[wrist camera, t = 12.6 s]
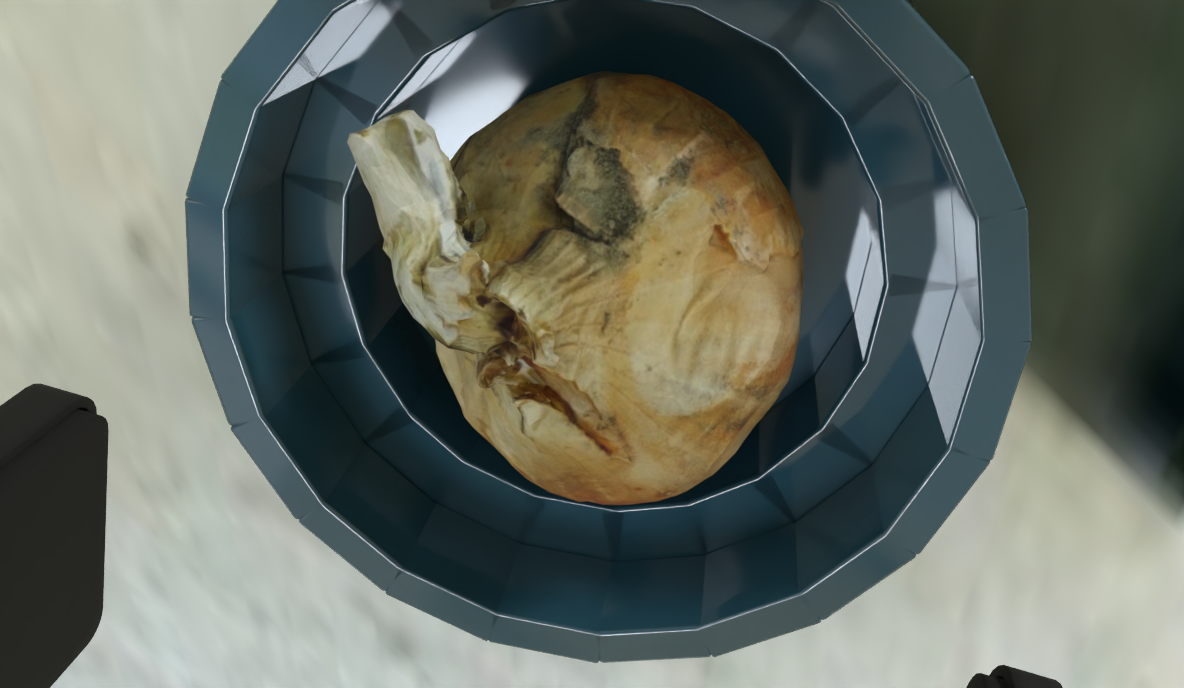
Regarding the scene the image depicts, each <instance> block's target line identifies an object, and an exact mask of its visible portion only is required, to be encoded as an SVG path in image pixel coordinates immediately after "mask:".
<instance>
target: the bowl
mask: <svg viewBox="0 0 1184 688" xmlns="http://www.w3.org/2000/svg"><path fill="white" fill-rule="evenodd" d="M601 71H611V72H619V73H628V74H644V75H652V76H656V77H659V78H661V79H664V80H668V81H670V82H673V83H676V84H678V85H679V86H681V87H683V88H685V89H687V90H689V91H691V92H693V93H695V94H697V95H699V96H701V97H703V98H705V99H706V100H708V101H709V102H711V103H712V104H714V105H715V106H717V107H718V108H719V109H721V110H723V111H724V112H726V113H728V114H729V115H730V116H731V117H732V118H733V119H734V120H735V121H736V122H737V123H739V124H740V125H741V126H742V127H743V128H744V129H745V130H746V131H747V132H748V133H749V134H750V135H751V136H752V137H753V138H754V139H755V140H756V141H757V142H758V143H759V144H760V146H761V147H762V149H763V151H764V152H765V154H766V156H767V158H768V160H769V161H770V163H771V165H772V167H773V168H774V170H775V171H776V173H777V175H778V176H779V178H780V180H781V181H782V183H783V184H784V185H785V187H786V189H787V191H788V193H789V195H790V197H791V199H792V201H793V203H794V205H795V208H796V211H797V214H798V217H799V220H800V222H801V225H802V227H803V230H804V234H803V237H802V241H801V244H802V252H803V296H802V305H801V317H800V331H799V339H798V346H797V351H796V356H795V360H794V364H793V367H792V371H791V374H790V378H789V381H788V382H787V384H786V385H785V387H784V388H783V389H782V391H781V392H780V394H779V396H778V398H777V400H776V401H775V402H774V403H773V405H772V406H771V407H770V409H769V410H768V411H767V412H766V414H765V415H764V416H763V418H762V419H761V420H760V421H759V422H758V423H757V424H756V425H755V427H754V428H753V429H752V431H751V432H750V433H749V435H748V436H747V437H746V439H745V440H744V442H743V443H742V444H741V446H740V447H739V449H738V450H737V452H736V453H735V454H734V455H733V456H732V457H731V458H730V459H729V460H728V461H727V462H726V463H725V464H724V465H723V466H722V467H721V468H720V469H719V470H718V471H717V472H715V473H714V474H713V475H712V476H710V477H708V478H707V479H705V480H703V481H702V482H700V483H699V484H697V485H696V486H694V487H693V488H691V489H689V490H688V491H686V492H684V493H681V494H679V495H677V496H673V497H669V498H666V499H663V500H660V501H656V502H647V503H638V504H631V505H602V504H598V503H593V502H589V501H585V502H578V501H575V500H572V499H569V498H566V497H562V496H559V495H556V494H553V493H550V492H548V491H547V490H545V489H543V488H541V487H540V486H538V485H536V484H534V483H532V482H531V481H529V480H527V479H526V478H525V477H524V476H523V475H522V474H520V473H519V472H518V471H517V470H516V469H515V468H514V467H513V466H512V465H511V464H510V463H509V462H508V460H507V459H506V458H505V457H504V456H503V455H502V454H501V453H500V452H499V451H498V450H497V449H496V448H495V447H494V446H493V445H492V444H491V443H489V442H488V441H487V440H486V439H485V438H484V437H483V436H482V435H481V434H480V433H479V432H478V431H476V430H475V429H474V428H473V427H472V425H471V424H470V423H469V422H468V421H467V420H466V418H465V417H464V415H463V412H462V409H461V406H460V404H459V402H458V400H457V397H456V395H455V393H454V391H453V389H452V387H451V385H450V383H449V381H448V379H447V377H446V375H445V373H444V371H443V368H442V366H441V363H440V360H439V357H438V355H437V352H436V342H435V339H434V338H433V336H432V335H431V334H430V333H429V332H428V331H427V330H426V329H425V328H424V327H423V326H422V325H421V324H420V323H419V322H418V321H417V320H415V319H414V318H413V316H412V315H411V313H410V312H409V311H408V309H407V308H406V306H405V305H404V303H403V302H402V300H401V297H400V294H399V292H398V289H397V286H396V284H395V281H394V276H393V269H392V263H391V259H390V258H389V256H388V255H387V254H386V252H385V251H384V250H383V244H384V237H383V235H382V232H381V230H380V227H379V223H378V219H377V216H376V212H375V208H374V204H373V200H372V197H371V195H370V193H369V191H368V189H367V187H366V185H365V184H364V181H363V179H362V177H361V174H360V172H359V169H358V167H357V164H356V162H355V159H354V157H353V154H352V152H351V150H350V147H349V145H348V143H347V141H348V138H349V134H351V133H354V132H357V131H360V130H363V129H366V128H368V127H370V126H371V125H373V124H375V123H377V122H378V121H380V120H382V119H383V118H385V117H387V116H389V115H392V114H395V113H397V112H400V111H403V110H414V111H415V112H416V113H417V114H418V115H419V117H420V118H422V119H423V120H424V121H425V122H426V123H428V124H429V125H430V126H431V127H432V128H434V131H435V134H436V137H437V139H438V142H439V145H440V148H441V150H442V151H443V152H444V153H445V154H446V155H447V156H448V158H449V160H451V159H452V158H453V156H454V155H455V153H456V152H457V151H458V149H459V148H460V147H461V146H462V145H463V144H464V142H465V141H466V140H467V139H468V138H469V137H470V136H471V135H472V134H474V133H476V132H477V131H479V130H480V129H482V128H483V127H485V126H486V125H488V124H489V123H491V122H492V121H493V120H495V119H496V118H497V117H499V116H500V115H501V114H502V113H504V112H505V111H507V110H508V109H510V108H511V107H513V106H514V105H516V104H517V103H519V102H520V101H522V100H523V99H525V98H526V97H528V96H529V95H531V94H534V93H537V92H540V91H543V90H546V89H549V88H551V87H554V86H556V85H559V84H561V83H564V82H567V81H570V80H573V79H576V78H579V77H583V76H586V75H589V74H592V73H596V72H601ZM221 78H222V80H221V81H220V82H219V86H218V89H217V92H216V96H215V99H214V102H213V106H212V109H211V112H210V116H209V119H208V122H207V126H206V129H205V132H204V136H203V139H202V142H201V146H200V149H199V152H198V156H197V159H196V162H195V166H194V169H193V172H192V176H191V179H190V182H189V186H188V189H187V193H186V196H187V197H188V198H186V201H185V213H186V237H187V261H188V285H189V309H190V316H192V324H193V327H194V329H195V332H196V335H197V338H198V341H199V343H200V346H201V349H202V352H203V354H204V357H205V360H206V363H207V365H208V368H209V371H210V374H211V377H212V379H213V382H214V385H215V388H216V390H217V393H218V396H219V399H220V401H221V404H222V407H223V410H224V413H225V415H226V418H227V421H228V423H229V424H230V425H232V426H231V431H232V432H233V433H234V435H235V436H236V437H237V439H238V440H239V442H240V443H241V444H242V446H243V447H244V449H245V450H246V451H247V453H248V454H249V455H250V457H251V458H252V460H253V461H254V462H255V464H256V465H257V466H258V468H259V469H260V471H261V472H262V473H263V475H264V476H265V478H266V479H267V480H268V482H269V483H270V484H271V486H272V487H273V489H274V490H275V491H276V493H277V494H278V496H279V497H280V498H281V500H282V501H283V502H284V504H285V505H286V507H287V508H288V509H289V511H290V512H291V514H292V515H293V516H294V518H295V519H299V522H300V523H301V524H302V525H303V526H304V527H305V528H307V529H308V530H309V531H310V532H312V533H313V534H314V535H315V536H316V537H318V538H319V539H320V540H321V541H323V542H324V543H325V544H326V545H327V546H329V547H330V548H331V549H332V550H334V551H335V552H336V553H337V554H338V555H340V556H341V557H342V558H343V559H345V560H346V561H347V562H348V563H349V564H351V565H352V566H353V567H354V568H355V569H357V570H358V571H359V572H360V573H362V574H363V575H364V576H365V577H366V578H368V579H369V580H370V581H371V582H373V583H374V584H375V585H376V586H377V587H379V588H380V589H381V590H383V591H386V594H387V595H389V596H391V597H393V598H396V599H398V600H400V601H402V602H404V603H406V604H408V605H410V606H413V607H415V608H417V609H419V610H421V611H423V612H425V613H428V614H430V615H432V616H434V617H436V618H438V619H440V620H442V621H445V622H447V623H449V624H451V625H453V626H455V627H457V628H459V629H462V630H464V631H466V632H468V633H470V634H472V635H474V636H476V637H479V638H481V639H483V640H485V641H487V640H489V641H490V642H493V643H498V644H503V645H508V646H513V647H518V648H523V649H528V650H533V651H538V652H543V653H549V654H554V655H559V656H564V657H569V658H574V659H579V660H584V661H589V662H594V663H598V662H599V660H600V662H603V663H606V662H625V661H644V660H663V659H682V658H701V657H709V656H711V655H712V656H713V657H716V656H719V655H722V654H726V653H729V652H732V651H735V650H738V649H741V648H744V647H747V646H750V645H753V644H756V643H759V642H762V641H765V640H768V639H771V638H775V637H778V636H781V635H784V634H787V633H790V632H793V631H796V630H799V629H802V628H805V627H808V626H811V625H814V624H817V623H820V622H821V620H824V619H826V618H827V617H829V616H830V615H832V614H833V613H835V612H836V611H838V610H839V609H841V608H842V607H844V606H845V605H846V604H848V603H849V602H851V601H852V600H854V599H855V598H857V597H858V596H860V595H861V594H863V593H864V592H865V591H867V590H868V589H870V588H871V587H873V586H874V585H876V584H877V583H879V582H880V581H882V580H883V579H884V578H886V577H887V576H889V575H890V574H892V573H893V572H895V571H896V570H898V569H899V568H901V567H902V566H903V565H905V564H906V563H908V562H909V561H911V560H912V559H914V558H915V556H916V554H919V553H920V552H921V551H922V550H923V549H924V547H925V546H926V545H927V543H928V542H929V541H930V540H931V538H932V537H933V536H934V534H935V533H936V532H937V530H938V529H939V528H940V527H941V525H942V524H943V523H944V521H945V520H946V519H947V518H948V516H949V515H950V514H951V512H952V511H953V510H954V509H955V507H956V506H957V505H958V503H959V502H960V501H961V500H962V498H963V497H964V496H965V494H966V493H967V492H968V490H969V489H970V488H971V487H972V485H973V484H974V483H975V481H976V480H977V479H978V478H979V476H980V475H981V474H982V472H983V471H984V470H985V469H986V467H987V466H988V465H989V463H990V460H992V459H993V457H994V454H995V451H996V448H997V445H998V442H999V439H1000V436H1001V433H1002V430H1003V427H1004V424H1005V421H1006V418H1007V415H1008V412H1009V409H1010V406H1011V403H1012V400H1013V397H1014V394H1015V391H1016V388H1017V385H1018V382H1019V379H1020V376H1021V373H1022V370H1023V367H1024V364H1025V361H1026V358H1027V355H1028V352H1029V349H1030V346H1031V339H1032V320H1031V287H1030V255H1029V223H1028V209H1027V207H1026V206H1025V204H1026V201H1025V198H1024V196H1023V194H1022V191H1021V189H1020V186H1019V184H1018V181H1017V179H1016V177H1015V174H1014V172H1013V169H1012V167H1011V164H1010V162H1009V159H1008V157H1007V155H1006V152H1005V150H1004V147H1003V145H1002V142H1001V140H1000V138H999V135H998V133H997V130H996V128H995V125H994V123H993V120H992V118H991V116H990V113H989V111H988V108H987V106H986V103H985V101H984V99H983V96H982V94H981V91H980V89H979V86H978V84H977V81H976V79H975V77H974V76H973V75H972V74H971V73H970V71H969V68H968V67H967V65H966V64H965V63H964V62H963V61H962V60H961V59H960V58H959V57H958V56H957V55H956V53H955V52H954V51H953V50H952V49H951V48H950V47H949V46H948V45H947V44H946V43H945V41H944V40H943V39H942V38H941V37H940V36H939V35H938V34H937V33H936V32H935V31H934V29H933V28H932V27H931V26H930V25H929V24H928V23H927V22H926V21H925V20H924V19H923V17H922V16H921V15H920V14H919V13H918V12H917V11H916V10H915V9H914V8H913V7H912V5H911V4H910V3H909V2H908V1H907V0H278V1H277V2H276V3H275V5H274V6H273V7H272V9H271V10H270V11H269V13H268V14H267V15H266V17H265V18H264V19H263V21H262V22H261V23H260V25H259V26H258V27H257V29H256V30H255V31H254V33H253V34H252V35H251V37H250V38H249V39H248V41H247V42H246V43H245V45H244V46H243V47H242V49H241V50H240V51H239V53H238V54H237V55H236V57H235V58H234V59H233V61H232V62H231V63H230V65H229V66H228V67H227V69H226V70H225V71H224V73H223V74H222V76H221Z"/></svg>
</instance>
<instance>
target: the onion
mask: <svg viewBox="0 0 1184 688" xmlns="http://www.w3.org/2000/svg"><path fill="white" fill-rule="evenodd" d="M347 143H348V145H349V147H350V150H351V152H352V154H353V157H354V159H355V162H356V164H357V167H358V169H359V172H360V174H361V177H362V179H363V181H364V184H365V185H366V187H367V189H368V191H369V193H370V195H371V197H372V200H373V204H374V208H375V212H376V216H377V219H378V223H379V227H380V230H381V232H382V235H383V237H384V244H383V250H384V251H385V252H386V254H387V255H388V256H389V258H390V259H391V263H392V269H393V276H394V281H395V284H396V286H397V289H398V292H399V294H400V297H401V300H402V302H403V303H404V305H405V306H406V308H407V309H408V311H409V312H410V313H411V315H412V316H413V318H414V319H415V320H417V321H418V322H419V323H420V324H421V325H422V326H423V327H424V328H425V329H426V330H427V331H428V332H429V333H430V334H431V335H432V336H433V338H434V339H435V342H436V352H437V355H438V357H439V360H440V363H441V366H442V368H443V371H444V373H445V375H446V377H447V379H448V381H449V383H450V385H451V387H452V389H453V391H454V393H455V395H456V397H457V400H458V402H459V404H460V406H461V409H462V412H463V415H464V417H465V418H466V420H467V421H468V422H469V423H470V424H471V425H472V427H473V428H474V429H475V430H476V431H478V432H479V433H480V434H481V435H482V436H483V437H484V438H485V439H486V440H487V441H488V442H489V443H491V444H492V445H493V446H494V447H495V448H496V449H497V450H498V451H499V452H500V453H501V454H502V455H503V456H504V457H505V458H506V459H507V460H508V462H509V463H510V464H511V465H512V466H513V467H514V468H515V469H516V470H517V471H518V472H519V473H520V474H522V475H523V476H524V477H525V478H526V479H527V480H529V481H531V482H532V483H534V484H536V485H538V486H540V487H541V488H543V489H545V490H547V491H548V492H550V493H553V494H556V495H559V496H562V497H566V498H569V499H572V500H575V501H578V502H585V501H589V502H593V503H598V504H602V505H631V504H638V503H647V502H656V501H660V500H663V499H666V498H669V497H673V496H677V495H679V494H681V493H684V492H686V491H688V490H689V489H691V488H693V487H694V486H696V485H697V484H699V483H700V482H702V481H703V480H705V479H707V478H708V477H710V476H712V475H713V474H714V473H715V472H717V471H718V470H719V469H720V468H721V467H722V466H723V465H724V464H725V463H726V462H727V461H728V460H729V459H730V458H731V457H732V456H733V455H734V454H735V453H736V452H737V450H738V449H739V447H740V446H741V444H742V443H743V442H744V440H745V439H746V437H747V436H748V435H749V433H750V432H751V431H752V429H753V428H754V427H755V425H756V424H757V423H758V422H759V421H760V420H761V419H762V418H763V416H764V415H765V414H766V412H767V411H768V410H769V409H770V407H771V406H772V405H773V403H774V402H775V401H776V400H777V398H778V396H779V394H780V392H781V391H782V389H783V388H784V387H785V385H786V384H787V382H788V381H789V378H790V374H791V371H792V367H793V364H794V360H795V356H796V351H797V346H798V339H799V331H800V317H801V305H802V296H803V252H802V244H801V241H802V237H803V234H804V230H803V227H802V225H801V222H800V220H799V217H798V214H797V211H796V208H795V205H794V203H793V201H792V199H791V197H790V195H789V193H788V191H787V189H786V187H785V185H784V184H783V183H782V181H781V180H780V178H779V176H778V175H777V173H776V171H775V170H774V168H773V167H772V165H771V163H770V161H769V160H768V158H767V156H766V154H765V152H764V151H763V149H762V147H761V146H760V144H759V143H758V142H757V141H756V140H755V139H754V138H753V137H752V136H751V135H750V134H749V133H748V132H747V131H746V130H745V129H744V128H743V127H742V126H741V125H740V124H739V123H737V122H736V121H735V120H734V119H733V118H732V117H731V116H730V115H729V114H728V113H726V112H724V111H723V110H721V109H719V108H718V107H717V106H715V105H714V104H712V103H711V102H709V101H708V100H706V99H705V98H703V97H701V96H699V95H697V94H695V93H693V92H691V91H689V90H687V89H685V88H683V87H681V86H679V85H678V84H676V83H673V82H670V81H668V80H664V79H661V78H659V77H656V76H652V75H644V74H628V73H619V72H611V71H601V72H596V73H592V74H589V75H586V76H583V77H579V78H576V79H573V80H570V81H567V82H564V83H561V84H559V85H556V86H554V87H551V88H549V89H546V90H543V91H540V92H537V93H534V94H531V95H529V96H528V97H526V98H525V99H523V100H522V101H520V102H519V103H517V104H516V105H514V106H513V107H511V108H510V109H508V110H507V111H505V112H504V113H502V114H501V115H500V116H499V117H497V118H496V119H495V120H493V121H492V122H491V123H489V124H488V125H486V126H485V127H483V128H482V129H480V130H479V131H477V132H476V133H474V134H472V135H471V136H470V137H469V138H468V139H467V140H466V141H465V142H464V144H463V145H462V146H461V147H460V148H459V149H458V151H457V152H456V153H455V155H454V156H453V158H452V159H451V160H449V158H448V156H447V155H446V154H445V153H444V152H443V151H442V150H441V148H440V145H439V142H438V139H437V137H436V134H435V131H434V128H432V127H431V126H430V125H429V124H428V123H426V122H425V121H424V120H423V119H422V118H420V117H419V115H418V114H417V113H416V112H415V111H414V110H403V111H400V112H397V113H395V114H392V115H389V116H387V117H385V118H383V119H382V120H380V121H378V122H377V123H375V124H373V125H371V126H370V127H368V128H366V129H363V130H360V131H357V132H354V133H351V134H349V138H348V141H347Z"/></svg>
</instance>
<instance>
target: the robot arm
mask: <svg viewBox="0 0 1184 688" xmlns="http://www.w3.org/2000/svg"><path fill="white" fill-rule="evenodd" d="M107 459H108V423H107V421H106V418H104V417H103V416H100V415H97V412H96V406H95V404H94V402H93V401H92V400H91V399H89V398H88V397H84V396H81V395H78V394H74V393H71V392H67V391H64V390H60V389H57V388H54V387H50V386H47V385H43V384H33V385H31V386H29V387H27V388H25V389H24V390H22V391H21V392H19V393H18V394H17V395H15V396H14V397H12V398H11V399H9V400H8V401H7V402H5V403H4V404H2V405H1V406H0V688H50V687H51V686H52V685H53V683H54V682H55V681H56V680H57V679H58V678H59V677H60V675H61V674H62V673H63V672H64V671H65V670H66V669H67V667H68V666H69V665H70V664H71V663H72V662H73V661H74V660H75V658H76V657H77V656H78V655H79V654H80V653H81V652H82V650H83V649H84V648H85V647H86V646H87V645H88V643H89V642H90V641H91V639H92V637H93V636H94V634H95V632H96V630H97V628H98V625H99V623H100V620H101V616H102V611H103V589H104V556H105V524H106V491H107ZM967 688H1062V686H1061V684H1060V683H1059V682H1057V681H1056V680H1053V679H1050V678H1046V677H1043V676H1040V675H1036V674H1033V673H1029V672H1026V671H1022V670H1019V669H1016V668H1012V667H1009V666H1005V665H1000V666H998V667H996V668H995V669H994V670H993V671H992V673H991V674H990V676H988V675H985V674H981V673H978V674H976V675H975V676H973V677H972V679H971V680H970V682H969V684H968V686H967Z"/></svg>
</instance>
